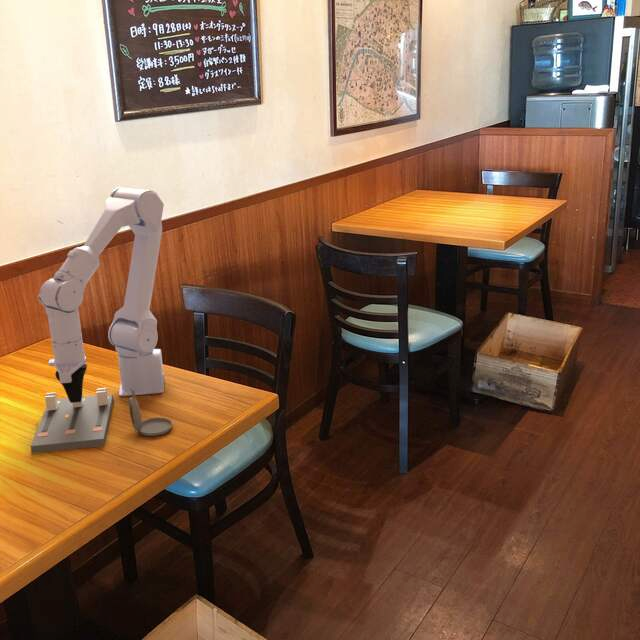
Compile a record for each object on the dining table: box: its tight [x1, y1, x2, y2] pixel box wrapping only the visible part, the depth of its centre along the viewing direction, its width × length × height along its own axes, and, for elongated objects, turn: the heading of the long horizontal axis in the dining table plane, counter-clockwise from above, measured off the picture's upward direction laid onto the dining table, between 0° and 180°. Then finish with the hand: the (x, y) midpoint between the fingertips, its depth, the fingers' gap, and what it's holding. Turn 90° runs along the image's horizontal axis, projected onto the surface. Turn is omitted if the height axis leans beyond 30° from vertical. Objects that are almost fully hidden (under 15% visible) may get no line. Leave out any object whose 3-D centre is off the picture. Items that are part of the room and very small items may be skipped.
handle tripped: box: [72, 395, 83, 407], centre depth 142 cm, size 2×2×3 cm
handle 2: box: [95, 387, 108, 406], centre depth 142 cm, size 2×2×3 cm
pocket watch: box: [128, 387, 173, 437], centre depth 133 cm, size 8×8×10 cm
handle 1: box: [44, 391, 58, 411], centre depth 140 cm, size 2×2×3 cm
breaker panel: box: [30, 393, 115, 454], centre depth 137 cm, size 13×20×2 cm, turn 11°
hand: (75, 401), depth 140 cm, fingers closed
